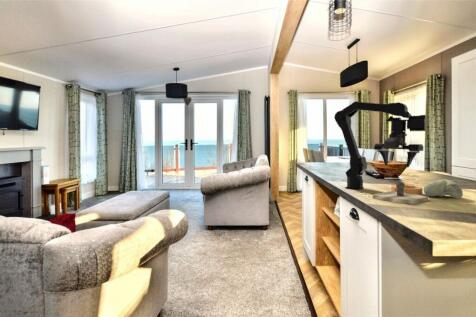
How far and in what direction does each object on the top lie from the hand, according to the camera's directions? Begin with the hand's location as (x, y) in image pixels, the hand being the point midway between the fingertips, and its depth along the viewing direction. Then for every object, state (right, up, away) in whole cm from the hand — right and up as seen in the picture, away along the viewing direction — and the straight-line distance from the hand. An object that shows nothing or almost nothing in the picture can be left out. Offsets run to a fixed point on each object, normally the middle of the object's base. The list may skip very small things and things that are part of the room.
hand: (396, 166), depth 125 cm
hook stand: (-6, -13, -13) cm, 20 cm away
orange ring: (+3, -12, -2) cm, 12 cm away
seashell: (+12, -13, -11) cm, 21 cm away
